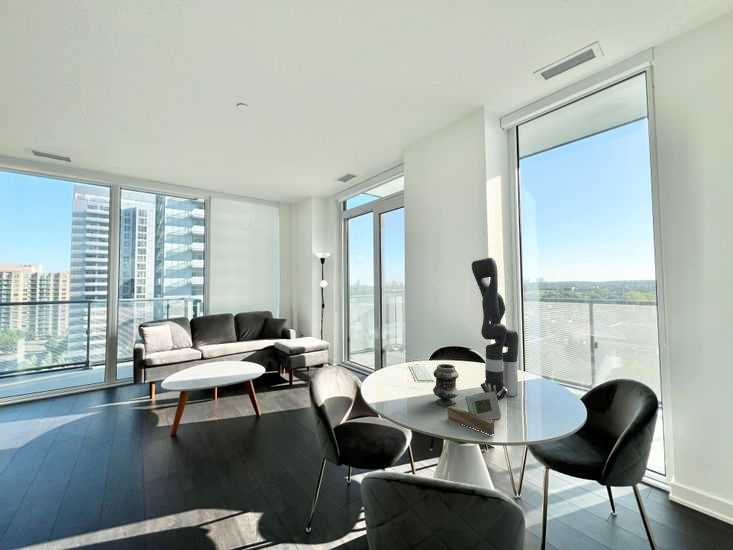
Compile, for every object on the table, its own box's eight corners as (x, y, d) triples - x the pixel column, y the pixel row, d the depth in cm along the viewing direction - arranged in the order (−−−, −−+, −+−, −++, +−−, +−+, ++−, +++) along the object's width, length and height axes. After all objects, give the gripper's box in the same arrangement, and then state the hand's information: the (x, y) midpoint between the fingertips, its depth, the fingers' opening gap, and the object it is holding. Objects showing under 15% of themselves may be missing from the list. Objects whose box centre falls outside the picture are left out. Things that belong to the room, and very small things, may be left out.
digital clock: (471, 425, 134) (471, 399, 134) (460, 416, 143) (460, 392, 143) (506, 422, 138) (506, 396, 138) (494, 413, 146) (493, 389, 146)
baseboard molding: (413, 382, 191) (433, 382, 191) (413, 377, 191) (433, 377, 191) (407, 368, 222) (424, 368, 222) (407, 363, 222) (424, 363, 222)
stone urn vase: (455, 409, 150) (454, 370, 151) (429, 405, 156) (429, 367, 156) (461, 401, 161) (461, 364, 161) (437, 396, 167) (437, 361, 167)
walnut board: (451, 417, 142) (451, 406, 142) (494, 434, 126) (494, 421, 126) (448, 419, 141) (448, 407, 141) (490, 436, 125) (490, 423, 125)
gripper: (513, 370, 143) (513, 410, 142) (485, 364, 153) (485, 401, 153) (504, 373, 138) (504, 414, 138) (476, 366, 148) (476, 405, 148)
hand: (494, 407), depth 145 cm, fingers closed
